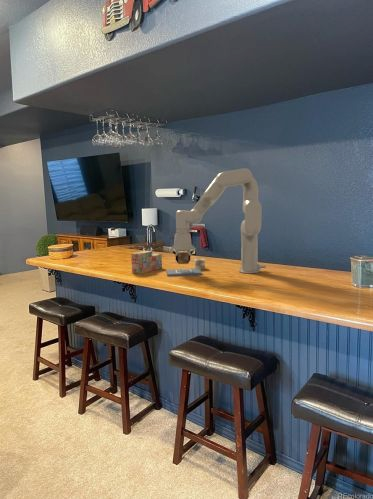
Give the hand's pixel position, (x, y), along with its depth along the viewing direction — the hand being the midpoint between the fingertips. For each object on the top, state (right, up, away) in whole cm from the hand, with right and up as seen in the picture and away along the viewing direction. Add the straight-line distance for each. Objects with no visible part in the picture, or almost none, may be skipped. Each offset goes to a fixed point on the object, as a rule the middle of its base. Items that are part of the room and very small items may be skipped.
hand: (183, 261), depth 221 cm
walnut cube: (0, -1, 0) cm, 1 cm away
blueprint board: (0, -7, +1) cm, 7 cm away
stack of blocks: (-22, -6, +12) cm, 26 cm away
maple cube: (+10, -5, +14) cm, 18 cm away
